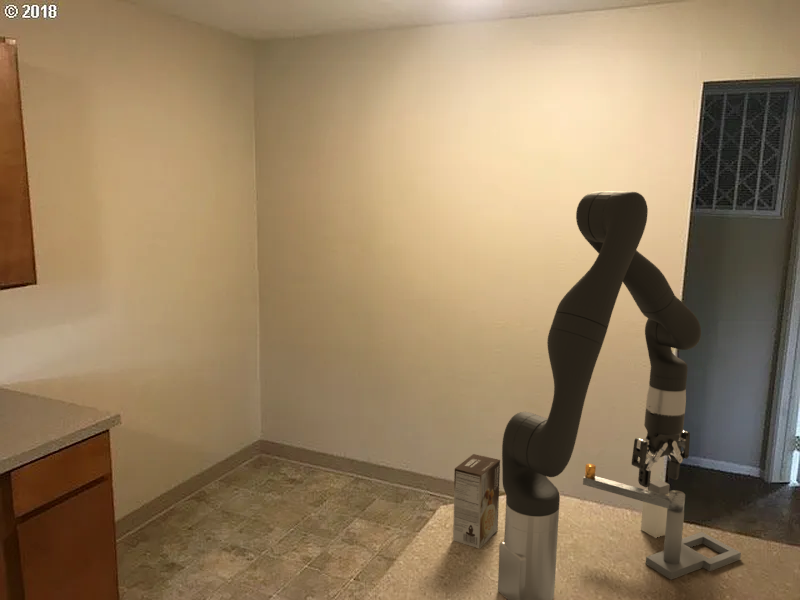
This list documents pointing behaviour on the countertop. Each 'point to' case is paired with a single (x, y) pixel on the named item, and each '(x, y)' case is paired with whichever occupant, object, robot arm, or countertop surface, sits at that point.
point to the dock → (688, 551)
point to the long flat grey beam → (634, 491)
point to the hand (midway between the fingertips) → (658, 482)
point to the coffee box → (476, 500)
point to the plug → (655, 511)
